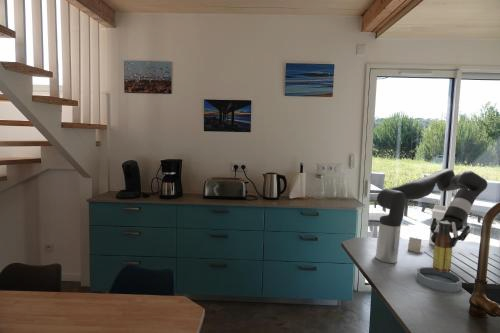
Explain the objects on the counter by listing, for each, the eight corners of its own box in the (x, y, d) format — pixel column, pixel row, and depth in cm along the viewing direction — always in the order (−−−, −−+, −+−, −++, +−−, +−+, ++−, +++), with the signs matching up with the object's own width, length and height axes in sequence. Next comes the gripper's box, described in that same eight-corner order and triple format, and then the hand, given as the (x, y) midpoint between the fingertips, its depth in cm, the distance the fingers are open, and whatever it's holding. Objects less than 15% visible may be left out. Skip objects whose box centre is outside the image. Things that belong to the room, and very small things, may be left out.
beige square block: (408, 249, 176) (409, 235, 175) (423, 252, 172) (424, 238, 172) (407, 251, 173) (409, 237, 172) (422, 254, 169) (424, 239, 169)
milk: (440, 246, 181) (445, 207, 179) (428, 243, 186) (433, 205, 183) (443, 244, 186) (448, 205, 184) (431, 241, 190) (435, 203, 188)
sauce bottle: (448, 268, 136) (453, 221, 134) (451, 274, 130) (457, 225, 128) (430, 265, 138) (435, 219, 136) (433, 271, 132) (438, 223, 130)
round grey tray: (408, 274, 141) (409, 266, 141) (442, 274, 143) (443, 267, 143) (432, 291, 126) (433, 283, 126) (470, 291, 128) (471, 283, 127)
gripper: (479, 221, 134) (463, 255, 128) (441, 213, 145) (425, 244, 140) (475, 209, 130) (459, 244, 124) (437, 202, 142) (420, 233, 136)
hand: (441, 243), depth 132 cm, fingers closed on sauce bottle, 6 cm apart
